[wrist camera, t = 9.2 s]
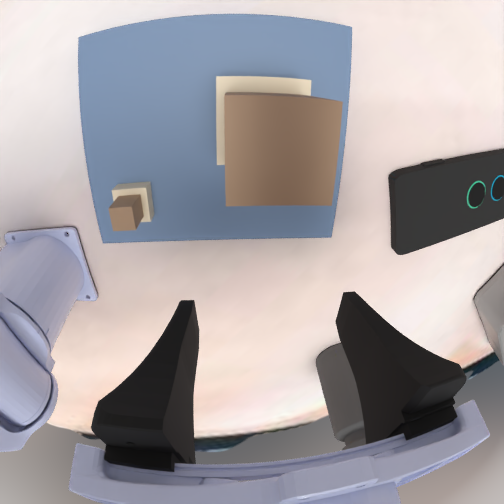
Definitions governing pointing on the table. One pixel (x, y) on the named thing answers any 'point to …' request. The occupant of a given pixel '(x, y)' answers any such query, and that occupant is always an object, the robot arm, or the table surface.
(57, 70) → the table surface
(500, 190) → the smart home device
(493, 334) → the projector
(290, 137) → the walnut block
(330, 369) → the bottle
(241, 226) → the board
